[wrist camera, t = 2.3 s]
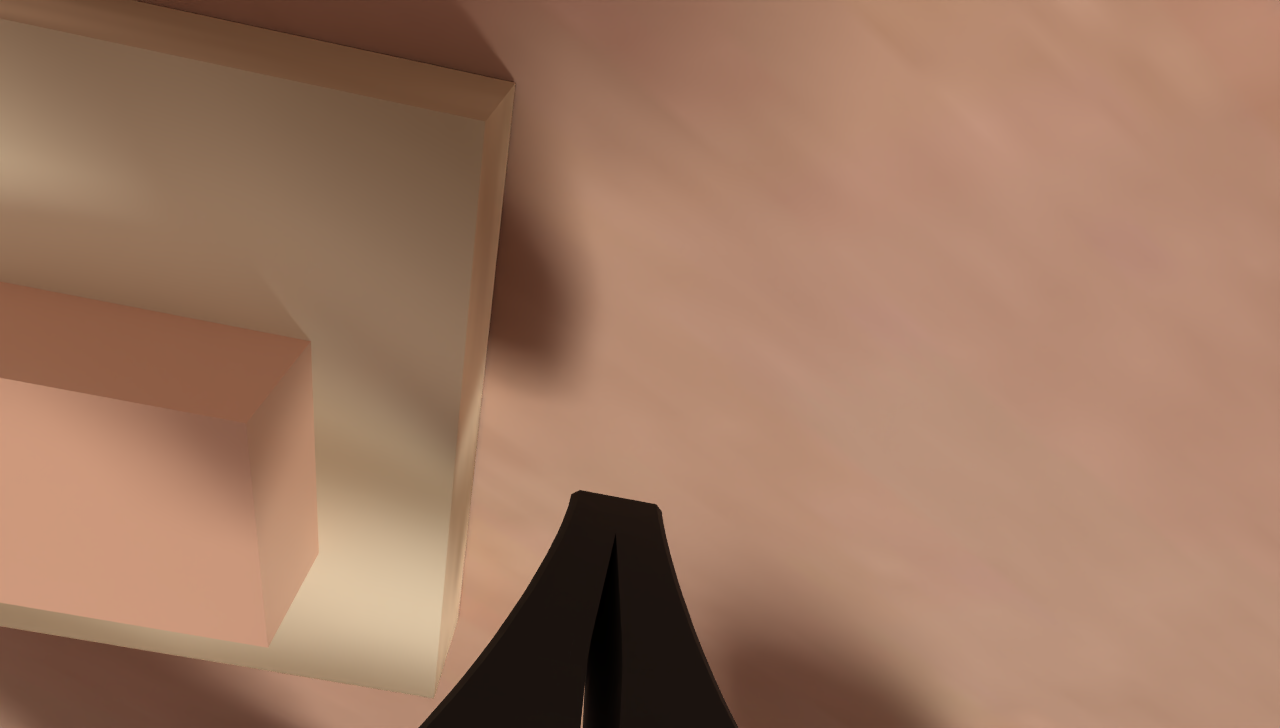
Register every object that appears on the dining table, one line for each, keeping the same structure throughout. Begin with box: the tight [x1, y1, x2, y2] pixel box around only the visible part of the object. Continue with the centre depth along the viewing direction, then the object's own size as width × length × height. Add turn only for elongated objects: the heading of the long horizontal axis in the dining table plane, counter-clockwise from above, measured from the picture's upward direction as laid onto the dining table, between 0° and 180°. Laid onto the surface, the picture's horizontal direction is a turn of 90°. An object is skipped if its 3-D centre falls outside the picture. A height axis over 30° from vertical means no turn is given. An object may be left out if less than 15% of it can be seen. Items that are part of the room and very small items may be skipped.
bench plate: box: [0, 0, 516, 698], centre depth 13 cm, size 12×13×2 cm
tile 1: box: [0, 281, 319, 648], centre depth 12 cm, size 4×4×2 cm
